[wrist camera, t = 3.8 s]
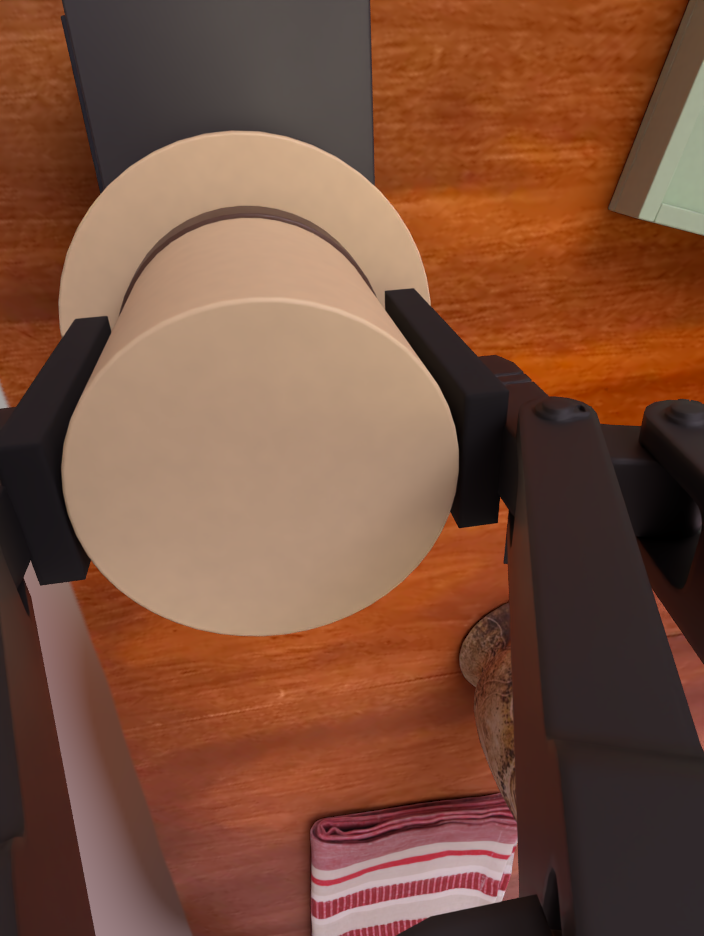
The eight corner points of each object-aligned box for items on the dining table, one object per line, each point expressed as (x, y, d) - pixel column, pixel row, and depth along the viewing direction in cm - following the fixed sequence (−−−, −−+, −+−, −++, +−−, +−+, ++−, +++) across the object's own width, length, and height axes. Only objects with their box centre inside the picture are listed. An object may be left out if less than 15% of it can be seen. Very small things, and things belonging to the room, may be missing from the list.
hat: (-12, 351, 17) (-190, 544, 10) (220, 27, 15) (213, -37, 7) (275, 533, 22) (299, 758, 14) (494, 311, 19) (660, 449, 12)
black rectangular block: (99, 3, 23) (42, -37, 16) (330, -5, 24) (369, -47, 17) (173, 373, 30) (155, 455, 23) (348, 355, 31) (381, 429, 24)
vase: (505, 566, 39) (1023, 1459, 13) (633, 608, 43) (1231, 1372, 17) (422, 683, 43) (700, 1543, 18) (546, 712, 47) (925, 1458, 21)
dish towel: (521, 785, 51) (534, 817, 49) (484, 935, 62) (493, 967, 60) (308, 814, 48) (311, 850, 46) (310, 965, 60) (313, 1000, 58)
